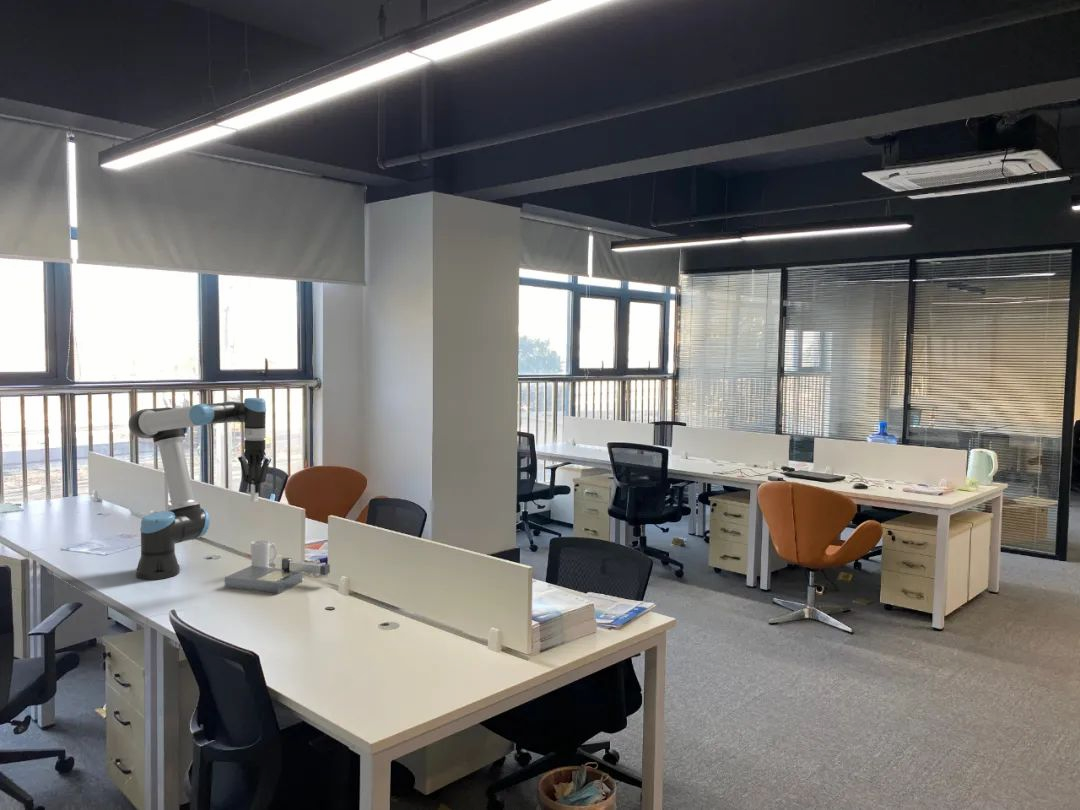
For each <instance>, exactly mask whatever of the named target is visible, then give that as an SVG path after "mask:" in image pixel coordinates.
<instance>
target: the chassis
mask: <svg viewBox="0 0 1080 810" xmlns="http://www.w3.org/2000/svg"><path fill="white" fill-rule="evenodd" d="M302 582H303V572H300V571H292V570H282V568H276V567H275V568H274V567H269V568H267V567H258V566H252V565H250V566H248V567H246V568H243V569H240V570H238V571H236V572H233V573H232V574H230V575H227V576H225V577H224V588H225V589H230V590H238V591H248V592H255V593H265V594H272V595H279V594H281V593H283V592H286V591H287V590H289V589H292V588H293V587H295V586H297V585H298V584H301V583H302Z"/></svg>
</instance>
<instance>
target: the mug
mask: <svg viewBox="0 0 1080 810" xmlns="http://www.w3.org/2000/svg"><path fill="white" fill-rule="evenodd" d="M250 543H251V546H250V547H251V548H250V550H251V551H250V552H251V553H250V556H251V557H250V558H251V566H258V567H267V568H270V564H274V563H275V560H276V558H277V553H278V552H277V551H278V549H277V547H276V544H275V542H272V543H270V540H267V539H257V540H253V541H251V542H250ZM270 548H272V549H273V555H272V558H270Z"/></svg>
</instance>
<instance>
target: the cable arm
mask: <svg viewBox="0 0 1080 810" xmlns="http://www.w3.org/2000/svg"><path fill="white" fill-rule="evenodd" d="M330 565H331V564H329V563H324V564H322V563H315V562H307V561H300V560H299V561H298V560H293V559H292V558H290V557H284V558H281V569H282V570H292V571H300V572H302V573H310V574H319V575H321V576H326V575H328V574H330V572H331V567H330Z"/></svg>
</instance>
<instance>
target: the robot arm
mask: <svg viewBox="0 0 1080 810" xmlns="http://www.w3.org/2000/svg"><path fill="white" fill-rule="evenodd" d="M266 412H267V408H266V401H265V399H264V398H261V397H247V398H244V402H238V401H232V400H231V401H223V402H217V403H214V402H213V403H199V404H195V405H190V406H184V407H170V406H169V407H168V406H167V407H159V408H144V409H140V410H137V411H135V412H134V413H132V415H130V418H129V419H128V428H129V431H130V432H131V433H132V434H133V435H134V436H136V437H137V438H141V439H152V440H153V444H154V445H155V446H157V447H158V449H159V454H160V458H161V462H162V468H163V472H164V477H165V481H166V485H167V490H168V494H169V500H170V507H169V509H168V510H166V511H165V510H164V511H161V510H160V511H156V512H152V513H149V514H146V515H145V516H144V517H143V518H142V519H141V521H140V530H139V531H140V558H139V561H138V565H137V567H136V569H135V577H136V578H138V579H140V578H141V579H140V580H148V579H150V581H151V580H152V579H153V580H161V579H163V580H164V579H168V578H173V577H175V576H177V575H179V574H180V571H181V570H180V565H179V564H178V562H179V561H178V559H177V556H176V551H175V549H176V547H175V545H176V544H180V543H183V542H188V541H193V540H197V539H198V538H201V537H203V536H205V535H206V533H207V532H208V530H209V528H210V525H211V523H210V522H211V517H210V515H209V513H208V511H207V510H206V509H205V508H202V507H201V504H200V503H199V502H198V501H196V500H195V496H194V491H193V487H192V482H191V477H190V472H189V467H188V464H187V459H186V455H185V450H184V445H183V441H184V440H186V434H187V432H188V431H189V428H190V427H191V428H192V427H198V426H205V425H207V426H208V425H215V424H227V423H243V424H244V426H243V427H244V428H243V431H244V433H243V435H244V436H243V437H244V441H243V448H244V452H243V454H242V455H240V456H238V457H237V460H238V461H239V463H240V467H241V472H242V478H243V482H244V483H247V484H248V492H249V493H250V502H252V503H254V502H259V493H260V492H261V484H263V483H265V482H266V479H267V475H268V470H269V466H270V463H271V461H272V458H271V457H268V456H266V455H267V454H266V451H265V450H266V440H265V439H266V435H267V434H266Z"/></svg>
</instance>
